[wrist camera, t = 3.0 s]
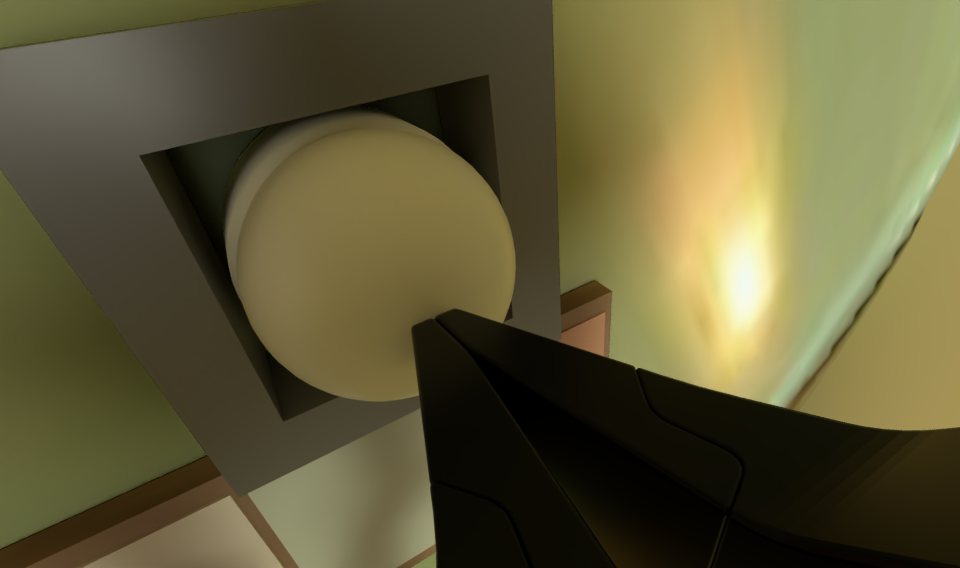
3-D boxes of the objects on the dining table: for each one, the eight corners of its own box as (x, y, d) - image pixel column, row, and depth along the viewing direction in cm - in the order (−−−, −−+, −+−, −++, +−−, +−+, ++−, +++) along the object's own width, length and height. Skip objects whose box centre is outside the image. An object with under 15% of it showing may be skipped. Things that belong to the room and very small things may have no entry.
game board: (127, 712, 17) (124, 747, 16) (-89, 590, 12) (-110, 634, 11) (591, 434, 25) (605, 449, 24) (595, 280, 19) (613, 292, 18)
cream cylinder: (276, 350, 13) (321, 520, 9) (172, 137, 10) (159, 239, 5) (463, 275, 15) (576, 382, 11) (430, 79, 12) (575, 118, 7)
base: (230, 418, 14) (238, 497, 12) (-5, 48, 8) (-78, 61, 6) (512, 296, 17) (561, 338, 15) (480, -23, 12) (550, -33, 9)
